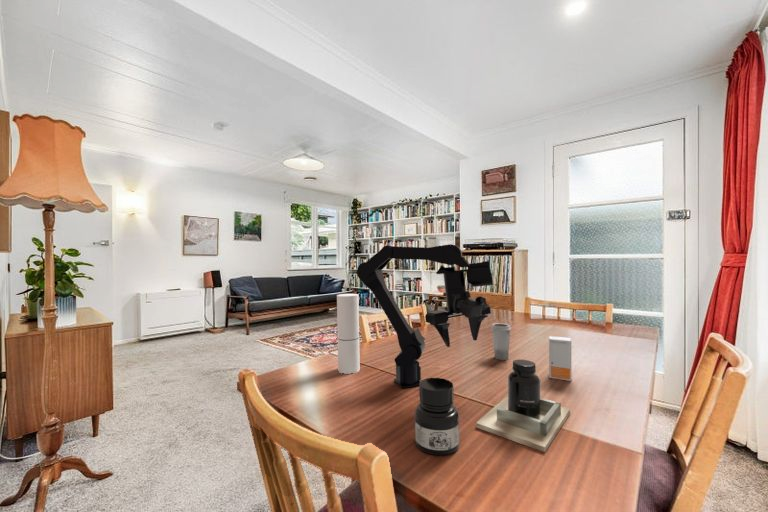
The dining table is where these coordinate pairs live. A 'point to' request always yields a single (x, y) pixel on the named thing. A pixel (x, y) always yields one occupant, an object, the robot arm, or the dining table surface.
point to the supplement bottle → (524, 389)
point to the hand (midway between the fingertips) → (461, 343)
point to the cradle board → (526, 424)
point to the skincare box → (560, 358)
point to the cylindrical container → (348, 333)
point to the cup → (501, 340)
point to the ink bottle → (436, 417)
